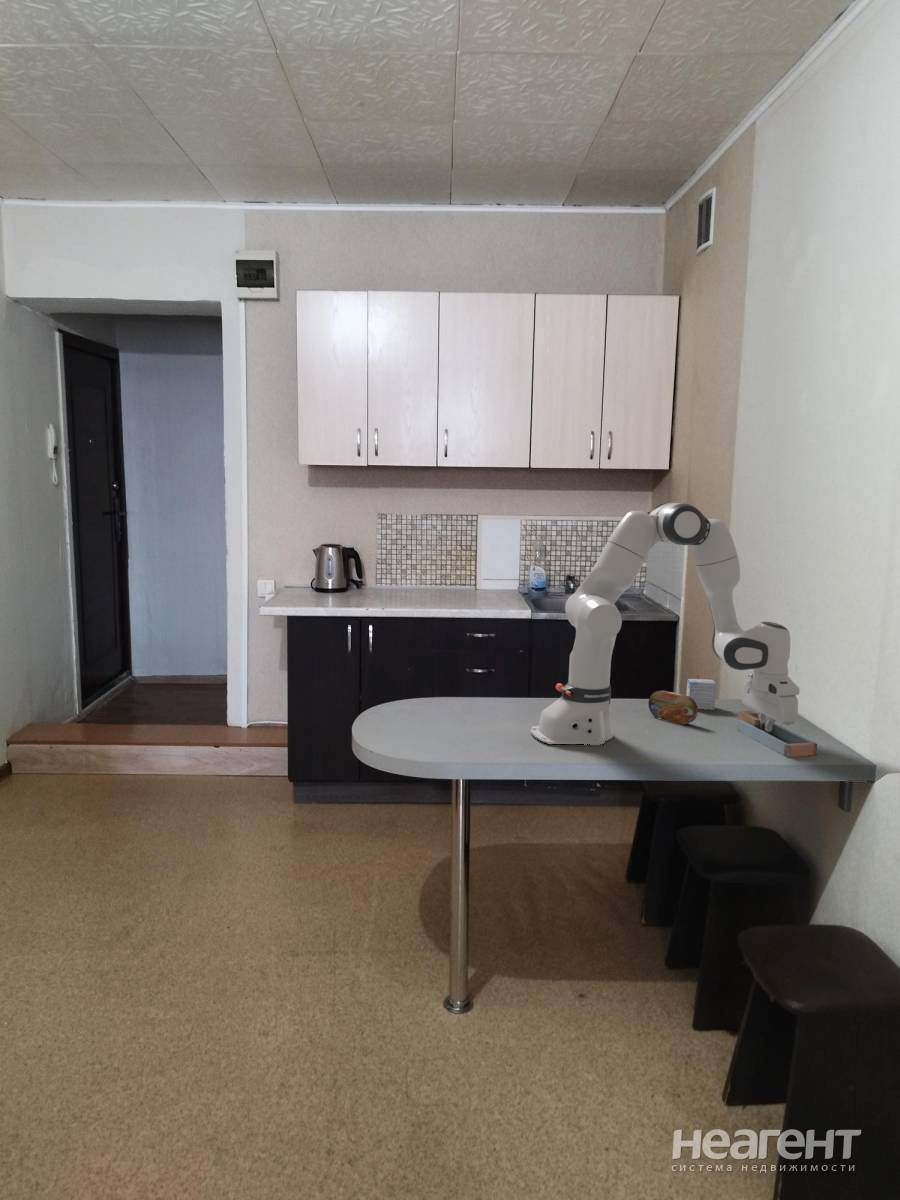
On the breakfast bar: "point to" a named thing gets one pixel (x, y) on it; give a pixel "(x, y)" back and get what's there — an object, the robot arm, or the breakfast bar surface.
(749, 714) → the tan block
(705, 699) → the medicine box
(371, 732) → the breakfast bar surface
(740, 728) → the trap channel
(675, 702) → the tin
